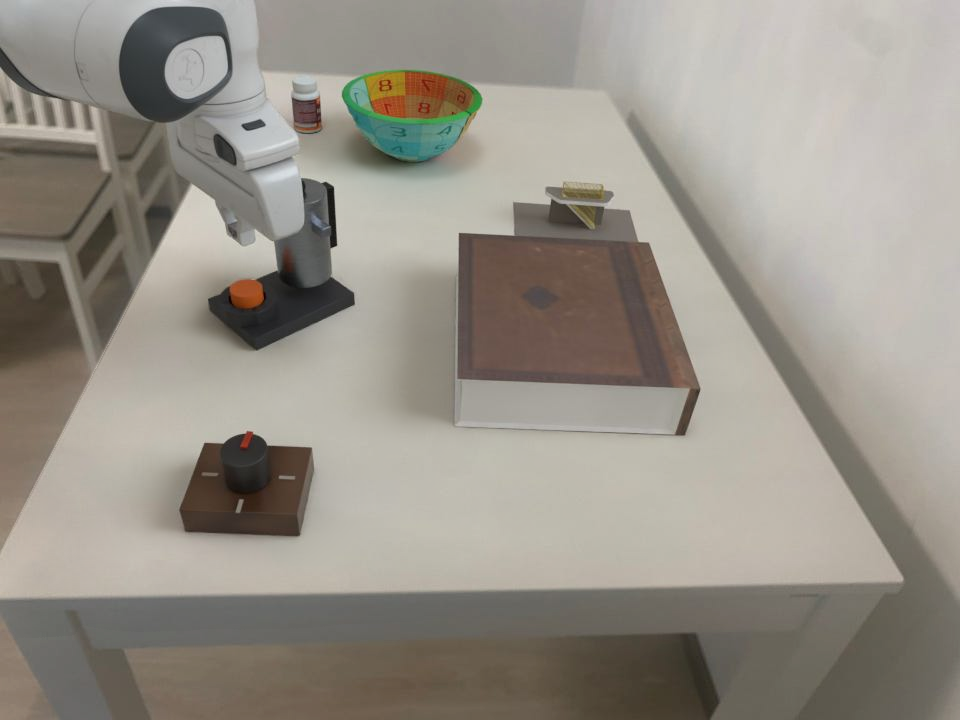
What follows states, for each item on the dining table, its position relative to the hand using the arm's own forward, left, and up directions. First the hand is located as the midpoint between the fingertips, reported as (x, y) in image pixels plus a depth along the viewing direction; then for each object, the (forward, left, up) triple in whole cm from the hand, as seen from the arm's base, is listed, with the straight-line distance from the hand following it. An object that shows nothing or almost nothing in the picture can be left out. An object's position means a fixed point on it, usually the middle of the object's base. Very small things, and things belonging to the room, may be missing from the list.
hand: (241, 239), depth 83 cm
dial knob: (-15, -23, -8) cm, 28 cm away
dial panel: (-15, -23, -11) cm, 29 cm away
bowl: (+45, +23, -12) cm, 52 cm away
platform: (+48, -10, -12) cm, 51 cm away
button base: (+4, 0, -11) cm, 12 cm away
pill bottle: (+37, +41, -12) cm, 57 cm away
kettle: (+8, -1, -8) cm, 12 cm away
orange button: (0, 0, -8) cm, 8 cm away
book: (+24, -27, -12) cm, 38 cm away
